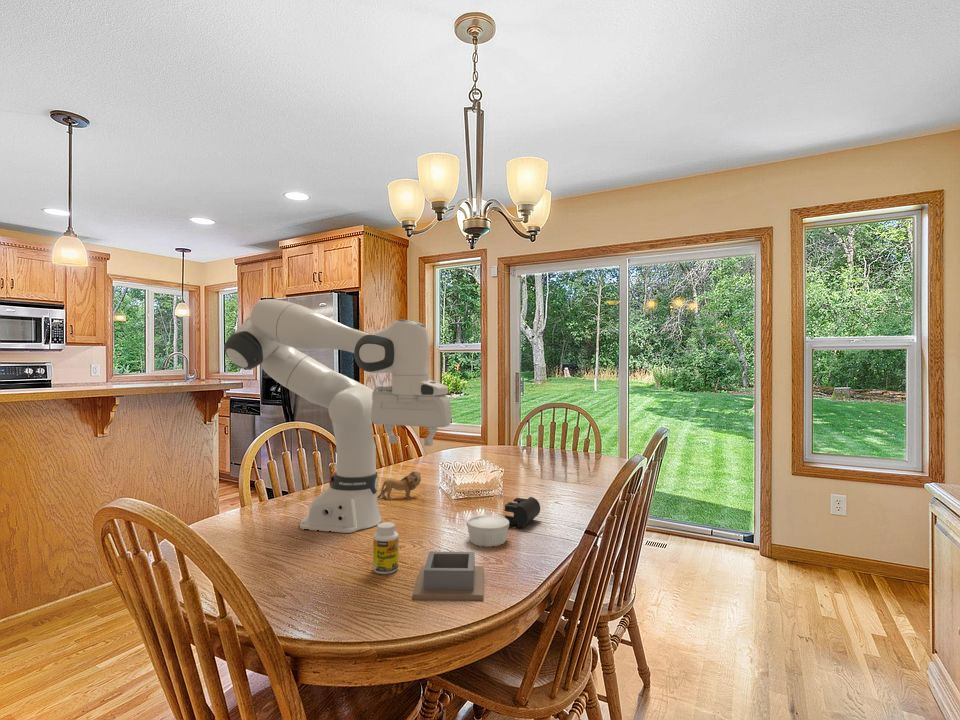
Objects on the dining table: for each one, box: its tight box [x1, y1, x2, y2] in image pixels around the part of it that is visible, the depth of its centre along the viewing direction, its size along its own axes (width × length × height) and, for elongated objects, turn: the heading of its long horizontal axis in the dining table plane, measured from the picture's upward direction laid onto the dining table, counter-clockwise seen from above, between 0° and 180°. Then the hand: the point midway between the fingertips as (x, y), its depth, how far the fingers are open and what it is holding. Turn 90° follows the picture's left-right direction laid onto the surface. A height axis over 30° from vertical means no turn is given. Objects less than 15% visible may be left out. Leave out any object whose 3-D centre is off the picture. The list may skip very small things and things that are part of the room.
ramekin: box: [466, 514, 510, 548], centre depth 135 cm, size 11×11×5 cm
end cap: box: [504, 496, 541, 529], centre depth 149 cm, size 10×7×7 cm
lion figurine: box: [377, 470, 422, 501], centre depth 175 cm, size 15×5×9 cm, turn 103°
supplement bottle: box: [372, 521, 399, 575], centre depth 117 cm, size 6×6×10 cm
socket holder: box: [411, 551, 485, 601], centre depth 109 cm, size 14×14×5 cm
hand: (410, 444), depth 125 cm, fingers open, 8 cm apart
